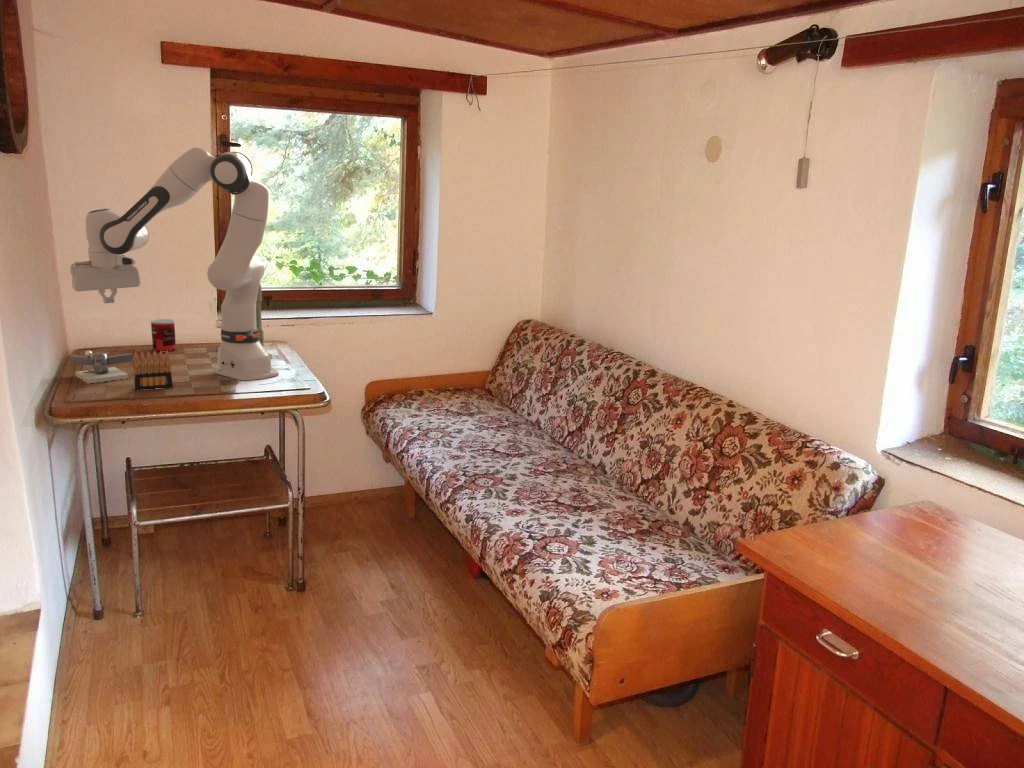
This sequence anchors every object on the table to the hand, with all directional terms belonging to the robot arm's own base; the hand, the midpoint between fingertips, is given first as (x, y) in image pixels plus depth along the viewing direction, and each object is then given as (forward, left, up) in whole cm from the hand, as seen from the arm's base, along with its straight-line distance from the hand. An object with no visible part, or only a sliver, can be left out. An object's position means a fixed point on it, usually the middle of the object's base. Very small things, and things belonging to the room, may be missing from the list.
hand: (109, 302), depth 266 cm
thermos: (+8, -53, -23) cm, 58 cm away
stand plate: (-9, +7, -23) cm, 25 cm away
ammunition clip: (-31, -1, -23) cm, 38 cm away
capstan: (-7, +8, -21) cm, 23 cm away
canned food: (+19, -24, -23) cm, 38 cm away
